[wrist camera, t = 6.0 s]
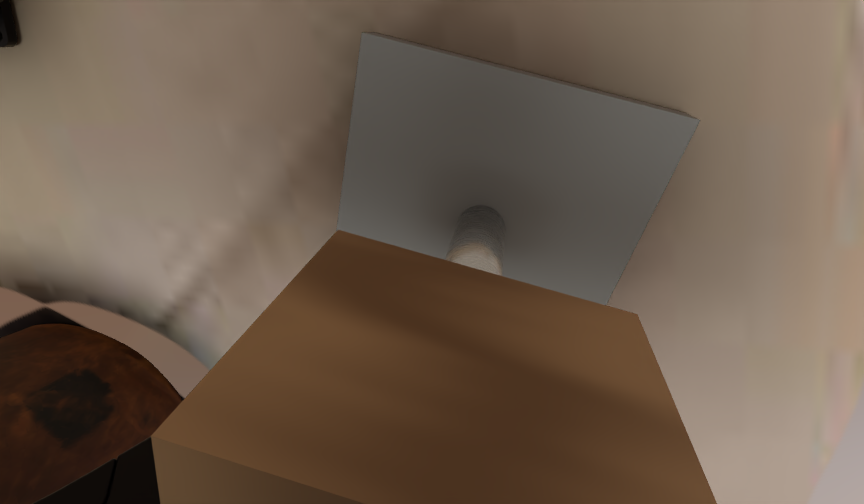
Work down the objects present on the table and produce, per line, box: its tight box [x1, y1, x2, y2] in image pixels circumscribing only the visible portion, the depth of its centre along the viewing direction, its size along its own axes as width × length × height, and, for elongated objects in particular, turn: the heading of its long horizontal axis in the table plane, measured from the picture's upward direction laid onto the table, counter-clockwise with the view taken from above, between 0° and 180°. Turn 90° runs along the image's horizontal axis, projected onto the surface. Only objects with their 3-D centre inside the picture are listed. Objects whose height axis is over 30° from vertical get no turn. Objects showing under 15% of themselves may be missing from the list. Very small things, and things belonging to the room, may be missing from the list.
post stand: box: [336, 32, 700, 305], centre depth 16 cm, size 12×12×7 cm
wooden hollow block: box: [151, 230, 717, 504], centre depth 8 cm, size 6×6×5 cm
